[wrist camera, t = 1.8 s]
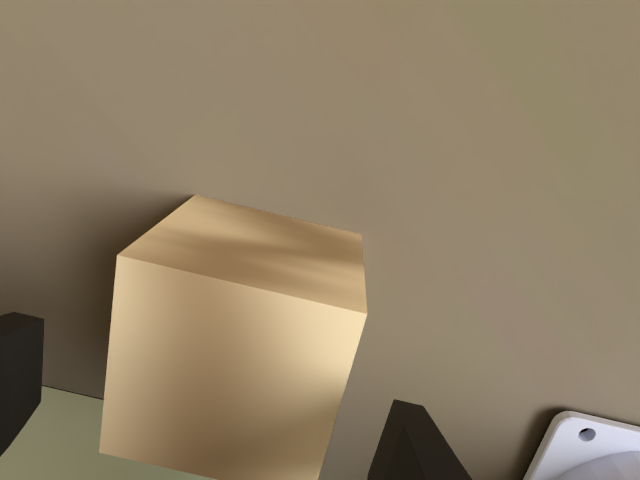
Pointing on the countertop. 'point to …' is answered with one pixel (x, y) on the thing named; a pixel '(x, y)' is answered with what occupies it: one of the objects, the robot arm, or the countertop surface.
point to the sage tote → (72, 446)
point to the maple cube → (232, 342)
